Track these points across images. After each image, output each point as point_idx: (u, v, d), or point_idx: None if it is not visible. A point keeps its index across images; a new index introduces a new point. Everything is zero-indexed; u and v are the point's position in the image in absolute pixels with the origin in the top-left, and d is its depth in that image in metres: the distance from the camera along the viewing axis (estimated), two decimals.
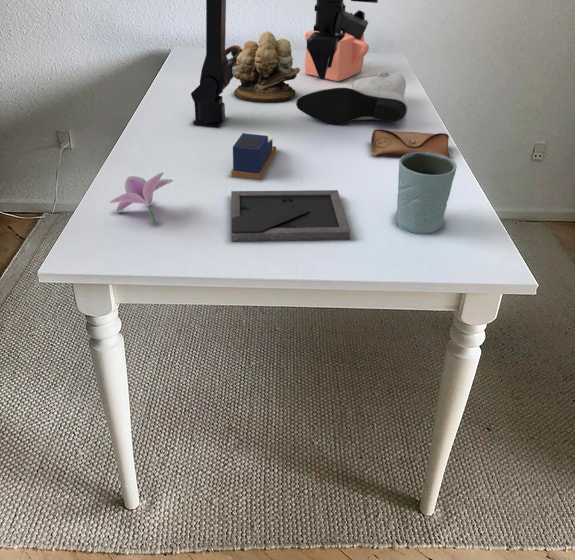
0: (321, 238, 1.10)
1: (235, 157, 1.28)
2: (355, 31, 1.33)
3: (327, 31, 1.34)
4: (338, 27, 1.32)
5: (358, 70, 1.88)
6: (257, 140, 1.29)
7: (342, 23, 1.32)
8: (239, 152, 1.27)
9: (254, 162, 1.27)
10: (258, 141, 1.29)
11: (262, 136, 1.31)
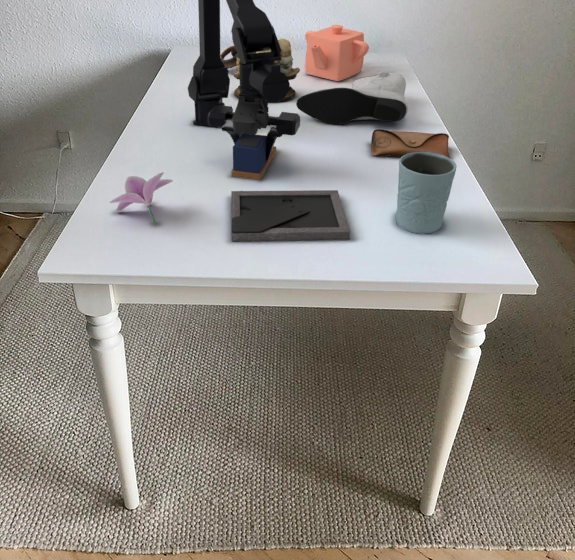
0: (321, 238, 1.10)
1: (235, 157, 1.28)
2: None
3: None
4: None
5: (358, 70, 1.88)
6: (257, 140, 1.29)
7: None
8: (239, 152, 1.27)
9: (254, 162, 1.27)
10: (258, 141, 1.29)
11: (262, 136, 1.31)
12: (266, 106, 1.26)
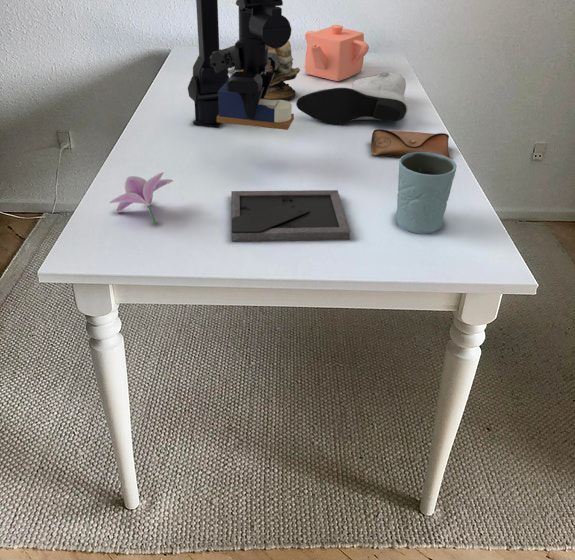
0: (321, 238, 1.10)
1: None
2: None
3: None
4: None
5: (358, 70, 1.88)
6: None
7: None
8: None
9: None
10: None
11: None
12: (247, 58, 1.19)
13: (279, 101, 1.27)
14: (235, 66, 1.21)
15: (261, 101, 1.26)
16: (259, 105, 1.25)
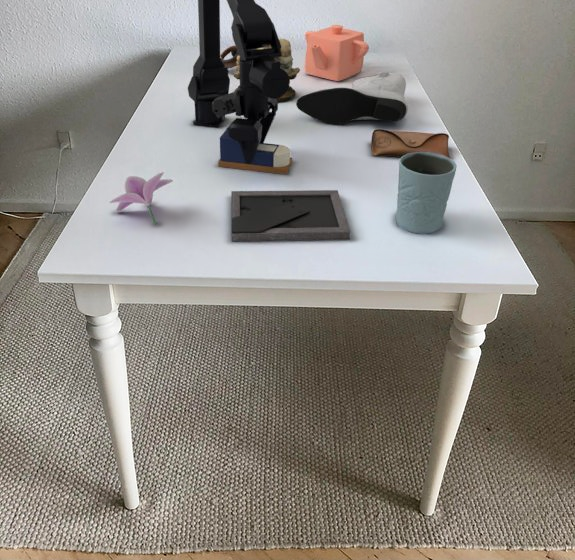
0: (321, 238, 1.10)
1: None
2: None
3: None
4: None
5: (358, 70, 1.88)
6: None
7: None
8: None
9: None
10: None
11: None
12: (248, 105, 1.25)
13: (278, 146, 1.33)
14: (236, 112, 1.26)
15: (261, 146, 1.32)
16: (259, 151, 1.31)
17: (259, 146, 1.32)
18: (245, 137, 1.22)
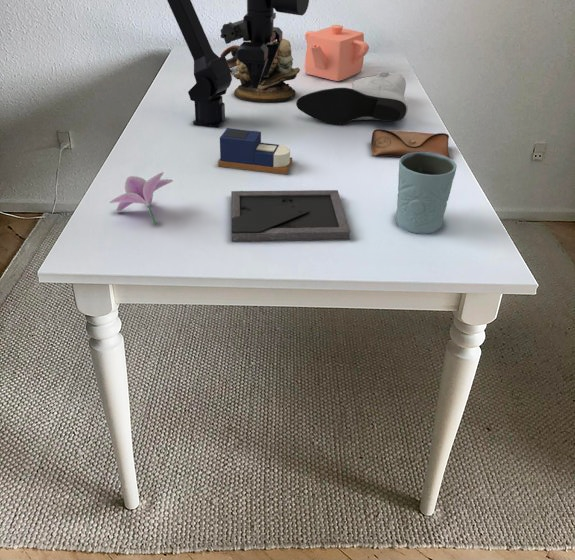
0: (321, 238, 1.10)
1: None
2: None
3: None
4: None
5: (358, 70, 1.88)
6: (241, 136, 1.30)
7: None
8: None
9: None
10: (238, 137, 1.30)
11: (252, 139, 1.30)
12: (254, 30, 1.33)
13: (278, 146, 1.33)
14: (243, 37, 1.34)
15: (261, 146, 1.32)
16: (259, 151, 1.31)
17: (259, 146, 1.32)
18: (252, 58, 1.30)
